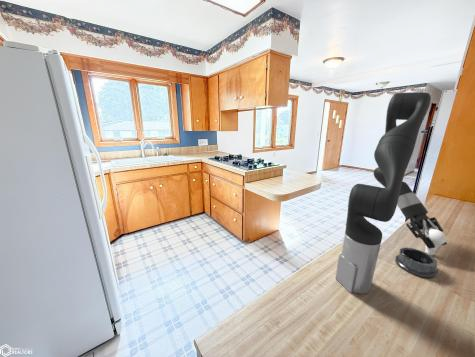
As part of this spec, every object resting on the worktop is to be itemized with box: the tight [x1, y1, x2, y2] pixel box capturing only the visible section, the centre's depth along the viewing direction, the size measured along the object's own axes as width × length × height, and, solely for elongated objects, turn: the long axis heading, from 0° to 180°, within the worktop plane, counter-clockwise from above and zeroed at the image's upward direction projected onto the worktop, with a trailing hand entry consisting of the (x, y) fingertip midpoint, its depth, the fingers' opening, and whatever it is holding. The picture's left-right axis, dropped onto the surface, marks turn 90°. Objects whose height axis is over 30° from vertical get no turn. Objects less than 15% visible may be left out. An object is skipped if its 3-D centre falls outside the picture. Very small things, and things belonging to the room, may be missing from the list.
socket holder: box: [394, 247, 438, 280], centre depth 67 cm, size 11×11×4 cm
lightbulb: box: [424, 228, 447, 256], centre depth 73 cm, size 6×6×11 cm
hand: (437, 246), depth 71 cm, fingers closed on lightbulb, 6 cm apart
